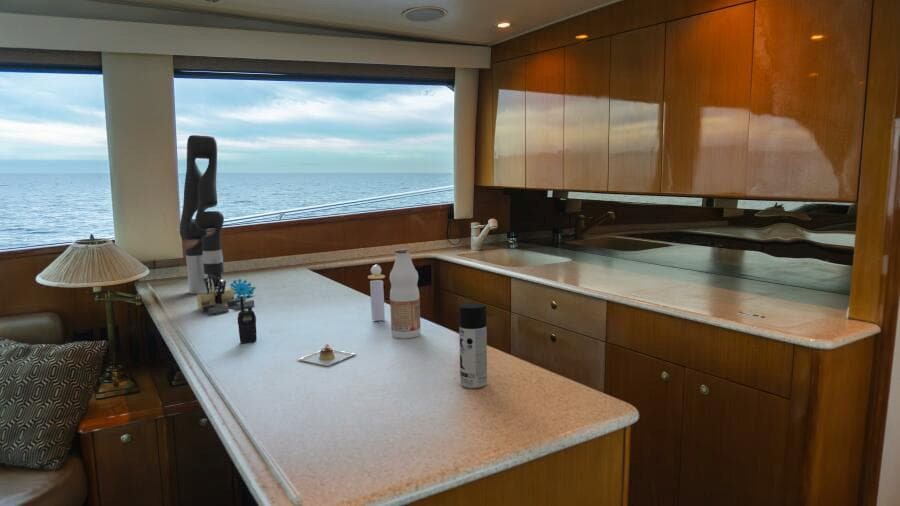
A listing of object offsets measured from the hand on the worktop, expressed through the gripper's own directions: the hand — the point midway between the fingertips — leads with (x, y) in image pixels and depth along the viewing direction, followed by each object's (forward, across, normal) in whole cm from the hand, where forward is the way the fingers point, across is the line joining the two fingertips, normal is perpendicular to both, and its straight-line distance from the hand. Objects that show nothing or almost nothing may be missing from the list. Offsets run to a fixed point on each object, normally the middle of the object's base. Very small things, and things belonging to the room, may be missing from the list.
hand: (216, 303), depth 241 cm
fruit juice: (+2, +92, +16) cm, 93 cm away
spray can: (+2, +137, -5) cm, 137 cm away
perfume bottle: (+2, +71, +23) cm, 75 cm away
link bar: (+1, 0, 0) cm, 1 cm away
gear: (+2, -7, +16) cm, 18 cm away
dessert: (+2, +90, -14) cm, 91 cm away
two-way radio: (+2, +56, -19) cm, 59 cm away
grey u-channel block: (+1, +9, 0) cm, 9 cm away
